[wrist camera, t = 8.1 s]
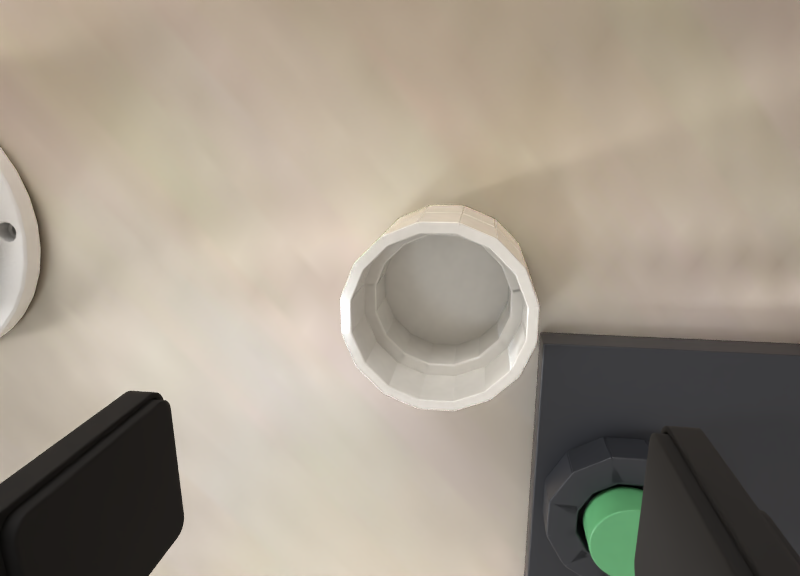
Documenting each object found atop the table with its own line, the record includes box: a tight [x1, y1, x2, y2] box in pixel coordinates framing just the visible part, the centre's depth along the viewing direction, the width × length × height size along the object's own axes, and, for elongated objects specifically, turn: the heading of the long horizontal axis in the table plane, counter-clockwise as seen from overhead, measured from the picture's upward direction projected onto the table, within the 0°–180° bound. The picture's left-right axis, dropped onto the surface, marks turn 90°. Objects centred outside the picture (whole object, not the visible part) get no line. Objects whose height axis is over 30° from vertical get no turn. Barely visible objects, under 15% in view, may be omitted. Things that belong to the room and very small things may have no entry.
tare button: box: [583, 486, 643, 576], centre depth 22 cm, size 3×3×2 cm
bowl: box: [340, 205, 540, 411], centre depth 22 cm, size 7×7×5 cm
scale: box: [524, 333, 800, 576], centre depth 23 cm, size 18×14×3 cm
